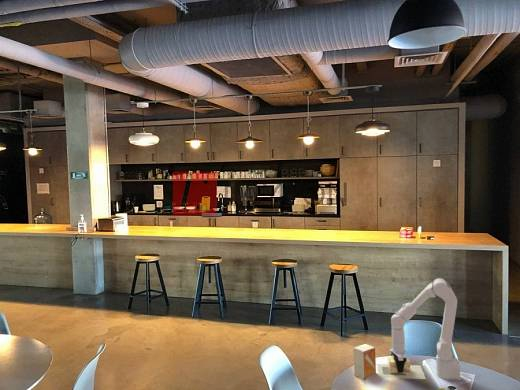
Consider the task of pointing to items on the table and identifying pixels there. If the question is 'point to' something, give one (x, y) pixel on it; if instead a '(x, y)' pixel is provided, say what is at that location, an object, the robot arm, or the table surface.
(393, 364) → the block
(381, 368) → the board
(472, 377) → the table surface
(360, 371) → the small box
